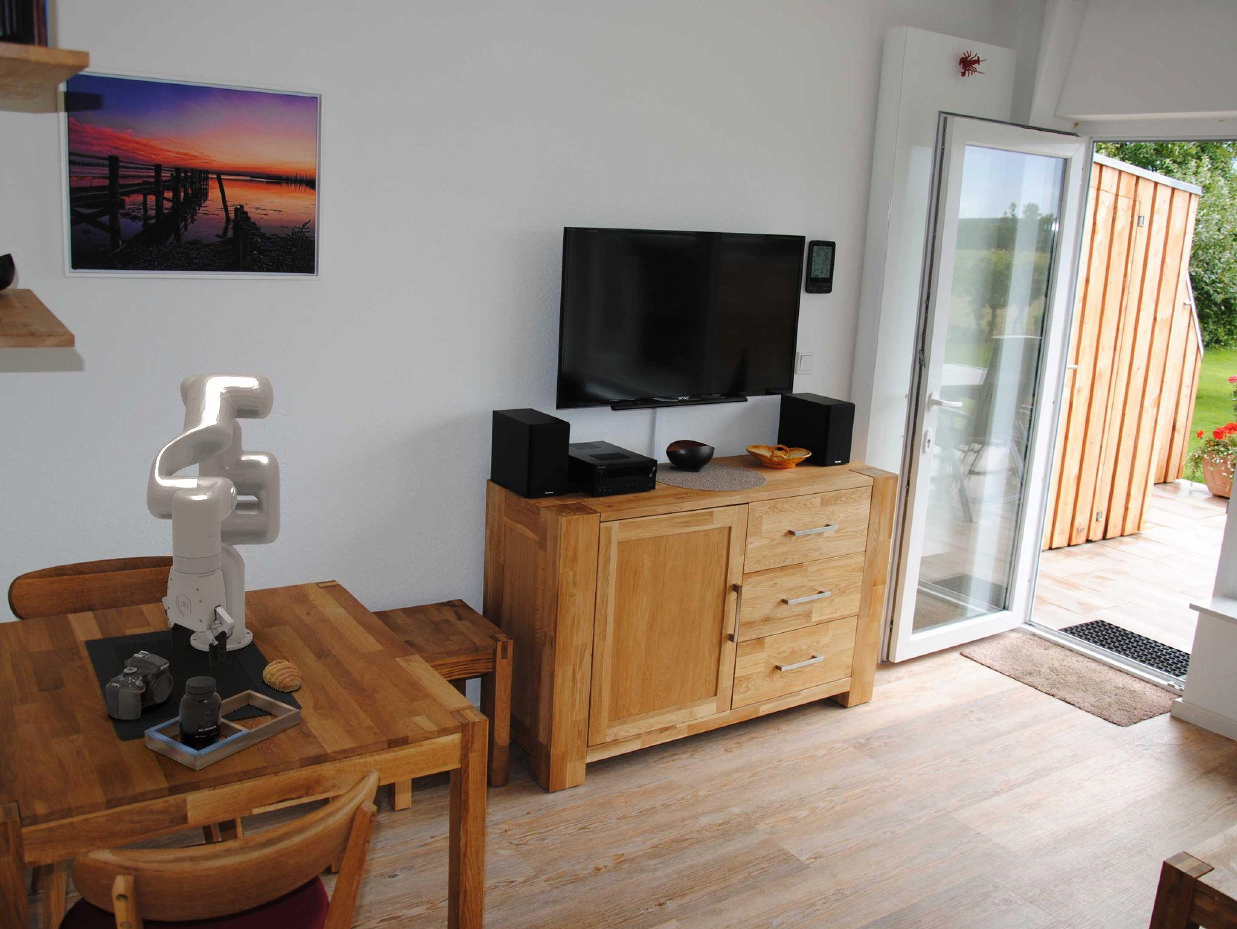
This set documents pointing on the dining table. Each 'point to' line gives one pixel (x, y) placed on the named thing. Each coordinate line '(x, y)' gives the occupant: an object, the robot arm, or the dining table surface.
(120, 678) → the camera
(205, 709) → the supplement bottle
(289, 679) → the pastry
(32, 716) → the dining table surface
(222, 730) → the caddy
